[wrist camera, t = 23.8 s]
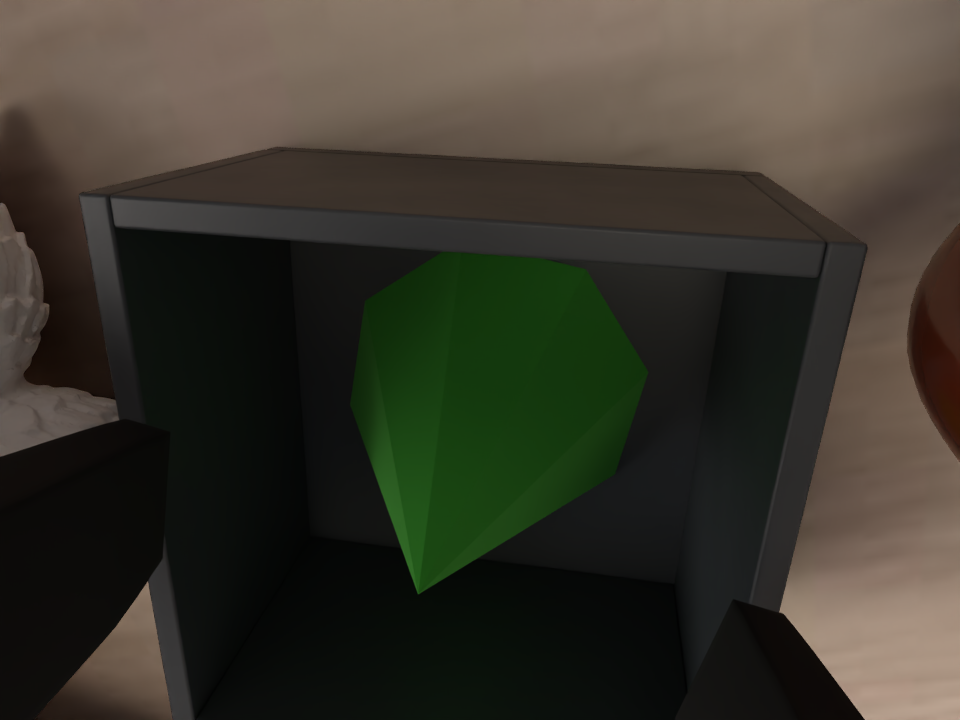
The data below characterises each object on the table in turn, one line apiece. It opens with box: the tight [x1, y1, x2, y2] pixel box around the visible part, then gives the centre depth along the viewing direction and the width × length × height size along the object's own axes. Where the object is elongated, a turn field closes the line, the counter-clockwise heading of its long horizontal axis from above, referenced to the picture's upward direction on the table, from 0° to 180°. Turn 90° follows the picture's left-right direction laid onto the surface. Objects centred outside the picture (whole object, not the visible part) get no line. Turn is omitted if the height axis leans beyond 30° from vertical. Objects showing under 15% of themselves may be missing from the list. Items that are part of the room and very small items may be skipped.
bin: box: [79, 147, 867, 720], centre depth 12 cm, size 9×9×6 cm
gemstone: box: [350, 252, 648, 594], centre depth 11 cm, size 6×6×6 cm
